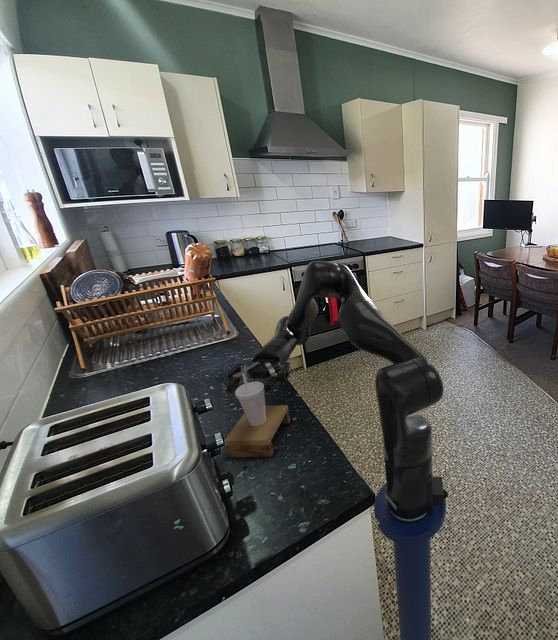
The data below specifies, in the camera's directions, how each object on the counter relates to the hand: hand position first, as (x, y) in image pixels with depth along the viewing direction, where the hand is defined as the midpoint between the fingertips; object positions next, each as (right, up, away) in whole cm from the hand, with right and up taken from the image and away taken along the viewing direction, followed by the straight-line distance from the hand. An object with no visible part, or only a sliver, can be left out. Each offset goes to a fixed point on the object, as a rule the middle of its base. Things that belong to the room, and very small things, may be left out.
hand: (247, 389), depth 81 cm
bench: (0, -13, +6) cm, 15 cm away
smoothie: (0, -9, +4) cm, 10 cm away
